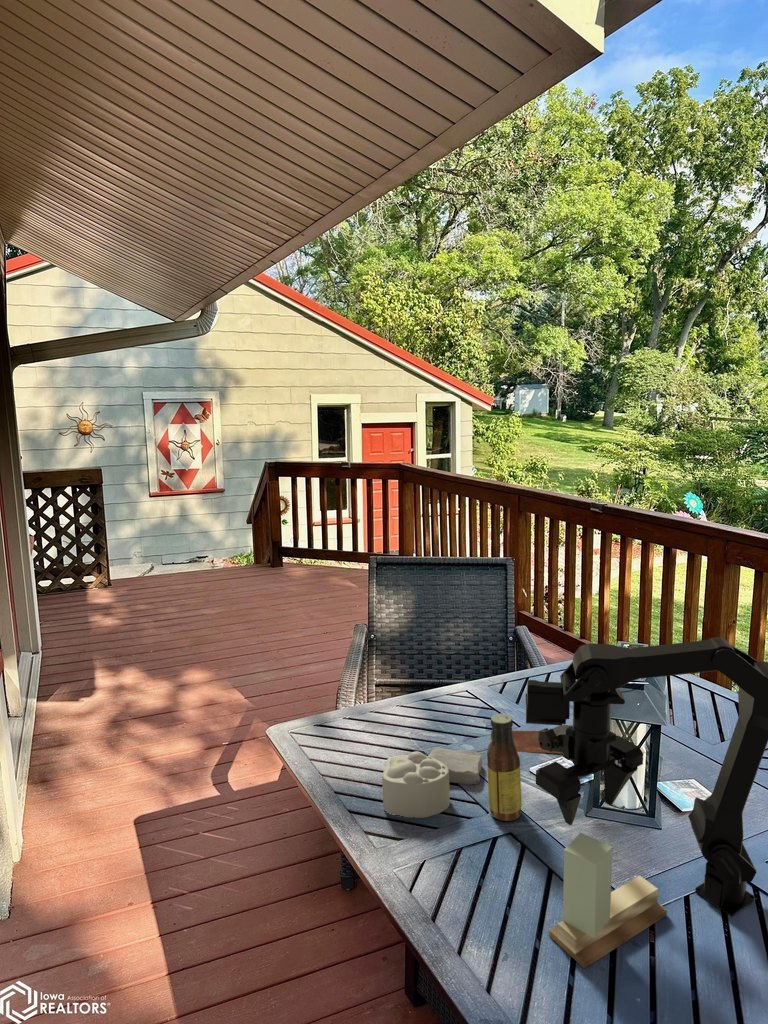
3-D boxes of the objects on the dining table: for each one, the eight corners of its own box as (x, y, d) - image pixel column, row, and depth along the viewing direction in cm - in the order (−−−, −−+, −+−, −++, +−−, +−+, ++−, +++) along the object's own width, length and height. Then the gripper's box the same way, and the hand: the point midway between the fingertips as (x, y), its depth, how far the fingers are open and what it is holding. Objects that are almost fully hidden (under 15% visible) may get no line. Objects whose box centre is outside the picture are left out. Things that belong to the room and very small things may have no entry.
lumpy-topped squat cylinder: (388, 784, 145) (387, 746, 143) (451, 788, 143) (450, 749, 141) (381, 815, 135) (379, 775, 133) (448, 820, 133) (447, 779, 131)
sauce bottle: (526, 809, 135) (527, 715, 131) (513, 827, 130) (513, 730, 126) (495, 799, 138) (495, 707, 134) (481, 815, 133) (480, 721, 129)
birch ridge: (629, 887, 114) (630, 869, 113) (666, 915, 108) (667, 895, 107) (549, 935, 105) (549, 915, 104) (584, 968, 99) (584, 947, 98)
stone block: (431, 764, 155) (421, 780, 145) (432, 742, 155) (422, 758, 145) (484, 772, 152) (478, 790, 142) (485, 750, 152) (479, 767, 142)
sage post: (579, 901, 106) (580, 832, 104) (610, 918, 103) (612, 846, 101) (562, 920, 103) (564, 849, 100) (594, 938, 99) (596, 865, 97)
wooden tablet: (489, 746, 156) (490, 720, 165) (489, 755, 157) (490, 728, 166) (612, 754, 151) (606, 727, 160) (611, 763, 152) (606, 735, 161)
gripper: (593, 690, 121) (591, 772, 124) (512, 721, 111) (511, 808, 114) (647, 716, 111) (643, 803, 114) (562, 751, 102) (561, 845, 105)
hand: (589, 813), depth 112 cm, fingers open, 9 cm apart
